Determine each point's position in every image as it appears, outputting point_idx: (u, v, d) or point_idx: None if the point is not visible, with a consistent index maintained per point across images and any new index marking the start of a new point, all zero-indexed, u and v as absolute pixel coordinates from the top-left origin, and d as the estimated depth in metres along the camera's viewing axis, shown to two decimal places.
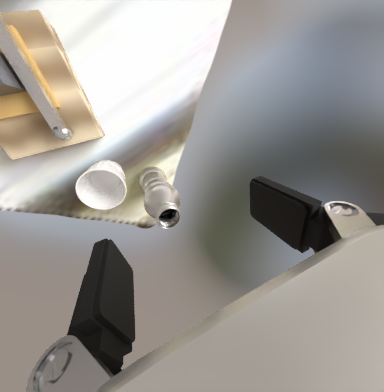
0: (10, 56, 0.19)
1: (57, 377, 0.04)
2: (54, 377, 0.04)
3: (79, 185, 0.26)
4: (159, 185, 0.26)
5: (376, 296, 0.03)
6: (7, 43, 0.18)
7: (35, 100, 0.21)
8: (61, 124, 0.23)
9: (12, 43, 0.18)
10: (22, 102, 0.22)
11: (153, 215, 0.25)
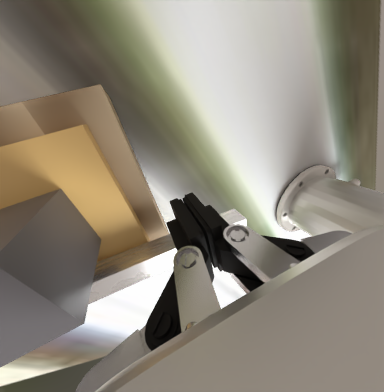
0: (98, 286, 0.09)
1: (186, 266, 0.06)
2: (184, 264, 0.06)
3: None
4: None
5: (376, 296, 0.03)
6: (121, 282, 0.10)
7: None
8: None
9: (123, 287, 0.10)
10: None
11: None
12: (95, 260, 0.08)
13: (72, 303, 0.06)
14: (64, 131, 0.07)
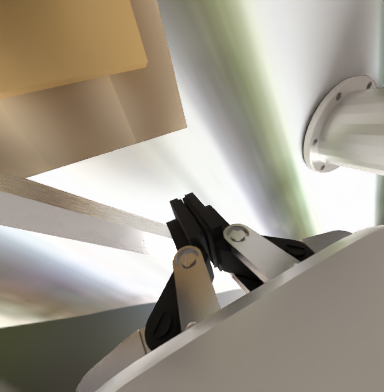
0: (71, 220, 0.07)
1: (186, 266, 0.06)
2: (184, 264, 0.06)
3: None
4: None
5: (376, 296, 0.03)
6: (93, 233, 0.08)
7: None
8: None
9: (88, 240, 0.08)
10: None
11: None
12: None
13: None
14: None
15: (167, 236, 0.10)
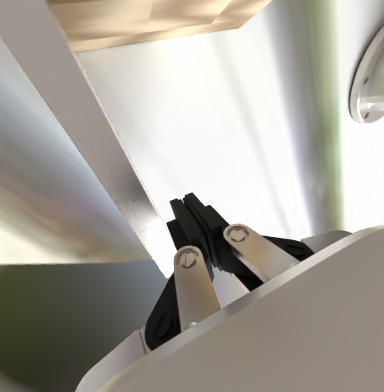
0: (94, 122, 0.06)
1: (186, 266, 0.06)
2: (184, 264, 0.06)
3: None
4: None
5: (376, 296, 0.03)
6: (99, 153, 0.07)
7: None
8: None
9: (87, 156, 0.07)
10: None
11: None
12: None
13: None
14: None
15: (156, 213, 0.09)
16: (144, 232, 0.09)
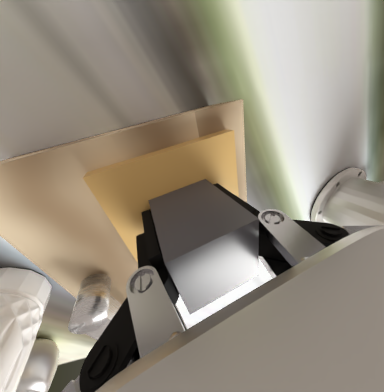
0: None
1: (142, 290, 0.05)
2: (140, 289, 0.06)
3: None
4: None
5: (376, 296, 0.03)
6: None
7: None
8: (88, 332, 0.10)
9: None
10: None
11: None
12: None
13: None
14: (223, 134, 0.09)
15: None
16: None
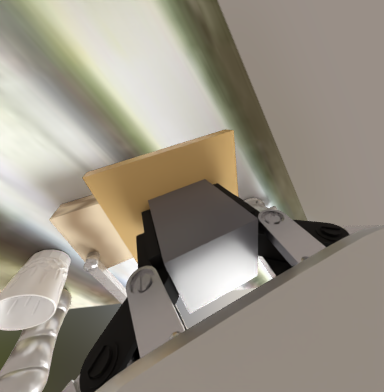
0: (118, 292, 0.31)
1: (142, 290, 0.05)
2: (140, 289, 0.06)
3: None
4: (45, 375, 0.24)
5: (376, 296, 0.03)
6: (119, 296, 0.31)
7: (107, 279, 0.28)
8: (90, 272, 0.26)
9: (116, 297, 0.31)
10: None
11: None
12: None
13: None
14: (222, 135, 0.09)
15: None
16: None
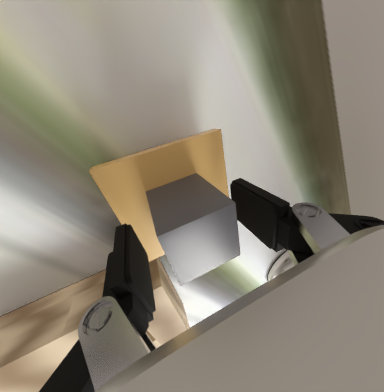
0: None
1: (100, 327, 0.05)
2: (97, 327, 0.05)
3: None
4: None
5: (376, 296, 0.03)
6: None
7: None
8: None
9: None
10: (143, 224, 0.12)
11: None
12: None
13: None
14: (211, 133, 0.11)
15: None
16: None
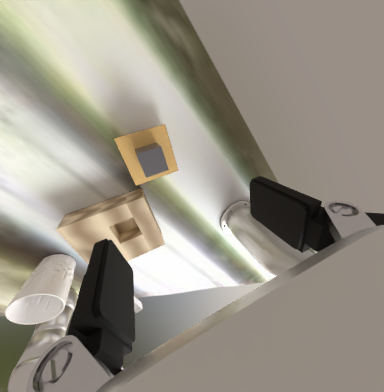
0: None
1: (57, 377, 0.04)
2: (55, 377, 0.04)
3: None
4: None
5: (376, 296, 0.03)
6: None
7: None
8: None
9: None
10: (134, 164, 0.28)
11: (14, 390, 0.24)
12: None
13: (166, 164, 0.26)
14: (160, 126, 0.27)
15: None
16: None
